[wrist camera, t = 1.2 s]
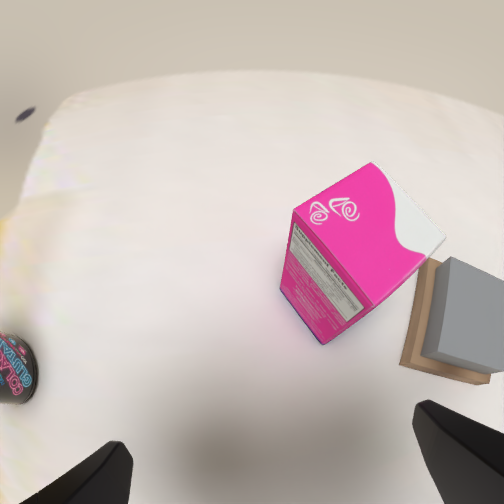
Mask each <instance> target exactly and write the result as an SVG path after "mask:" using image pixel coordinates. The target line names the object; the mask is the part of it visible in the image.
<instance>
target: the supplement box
mask: <svg viewBox="0 0 504 504" xmlns="http://www.w3.org/2000/svg"><path fill="white" fill-rule="evenodd" d="M445 239H446V235H445V234H444V233H443V231H442V230H441V229H440V228H439V227H438V226H437V225H436V224H435V223H434V222H433V220H432V219H431V218H430V217H429V216H428V215H427V214H426V213H425V212H424V211H423V210H422V209H421V208H420V207H419V206H418V205H417V204H416V203H415V201H414V200H413V199H412V198H411V197H410V196H409V195H408V194H407V193H406V192H405V191H404V190H403V189H402V188H401V187H400V186H399V185H398V184H397V183H396V182H395V181H394V180H393V179H392V178H391V177H390V176H389V175H388V174H387V173H386V172H385V171H384V170H383V169H382V168H381V167H380V166H379V165H378V164H377V163H376V162H374V161H372V162H370V163H369V164H367V165H365V166H363V167H362V168H360V169H358V170H357V171H355V172H354V173H352V174H350V175H349V176H347V177H345V178H344V179H342V180H340V181H339V182H337V183H335V184H334V185H332V186H331V187H329V188H327V189H325V190H324V191H322V192H321V193H319V194H317V195H316V196H314V197H312V198H311V199H309V200H307V201H306V202H304V203H303V204H301V205H299V206H298V207H296V208H294V209H293V213H292V220H291V226H290V232H289V238H288V244H287V250H286V256H285V263H284V268H283V274H282V279H281V285H280V290H281V292H282V293H283V294H284V295H285V297H286V298H287V300H288V301H289V302H290V303H291V305H292V306H293V307H294V309H295V310H296V312H297V313H298V314H299V316H300V317H301V318H302V320H303V321H304V322H305V324H306V325H307V326H308V328H309V329H310V330H311V331H312V333H313V334H314V335H315V337H316V338H317V339H318V340H319V342H320V343H321V344H322V345H324V344H326V343H328V342H329V341H331V340H332V339H334V338H335V337H336V336H338V335H339V334H340V333H342V332H343V331H345V330H346V329H347V328H349V327H350V326H351V325H353V324H354V323H355V322H357V321H358V320H359V319H361V318H362V317H364V316H365V315H366V314H368V313H369V312H370V311H371V310H373V309H374V308H375V307H377V306H378V305H379V304H380V303H382V302H383V301H384V300H385V299H386V298H388V297H389V296H390V295H391V294H392V293H393V292H394V291H395V290H396V289H398V288H399V287H400V286H401V285H402V284H403V283H404V282H405V281H406V280H407V279H408V278H409V277H410V276H411V275H412V274H413V273H414V272H415V271H416V270H417V269H418V268H419V267H420V266H421V265H422V264H423V263H424V262H425V261H426V260H427V259H428V258H429V257H430V256H431V255H432V254H433V253H434V252H435V251H436V249H437V248H438V247H439V246H440V245H441V244H442V243H443V242H444V241H445Z"/></svg>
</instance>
